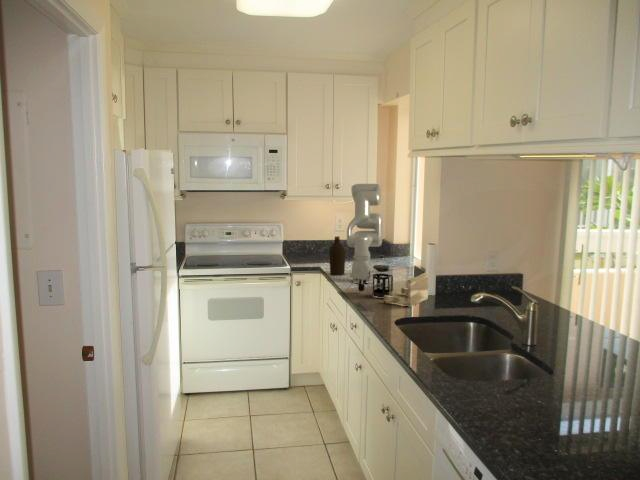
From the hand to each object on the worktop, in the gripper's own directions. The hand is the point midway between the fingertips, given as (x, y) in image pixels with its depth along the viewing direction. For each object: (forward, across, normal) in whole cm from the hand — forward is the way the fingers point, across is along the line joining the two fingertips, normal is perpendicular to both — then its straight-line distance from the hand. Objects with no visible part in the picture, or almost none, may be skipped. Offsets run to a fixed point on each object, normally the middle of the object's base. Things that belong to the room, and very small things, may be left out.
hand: (361, 290), depth 272 cm
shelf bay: (+2, +27, 0) cm, 27 cm away
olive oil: (+1, -40, +34) cm, 52 cm away
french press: (+2, +13, 0) cm, 13 cm away
